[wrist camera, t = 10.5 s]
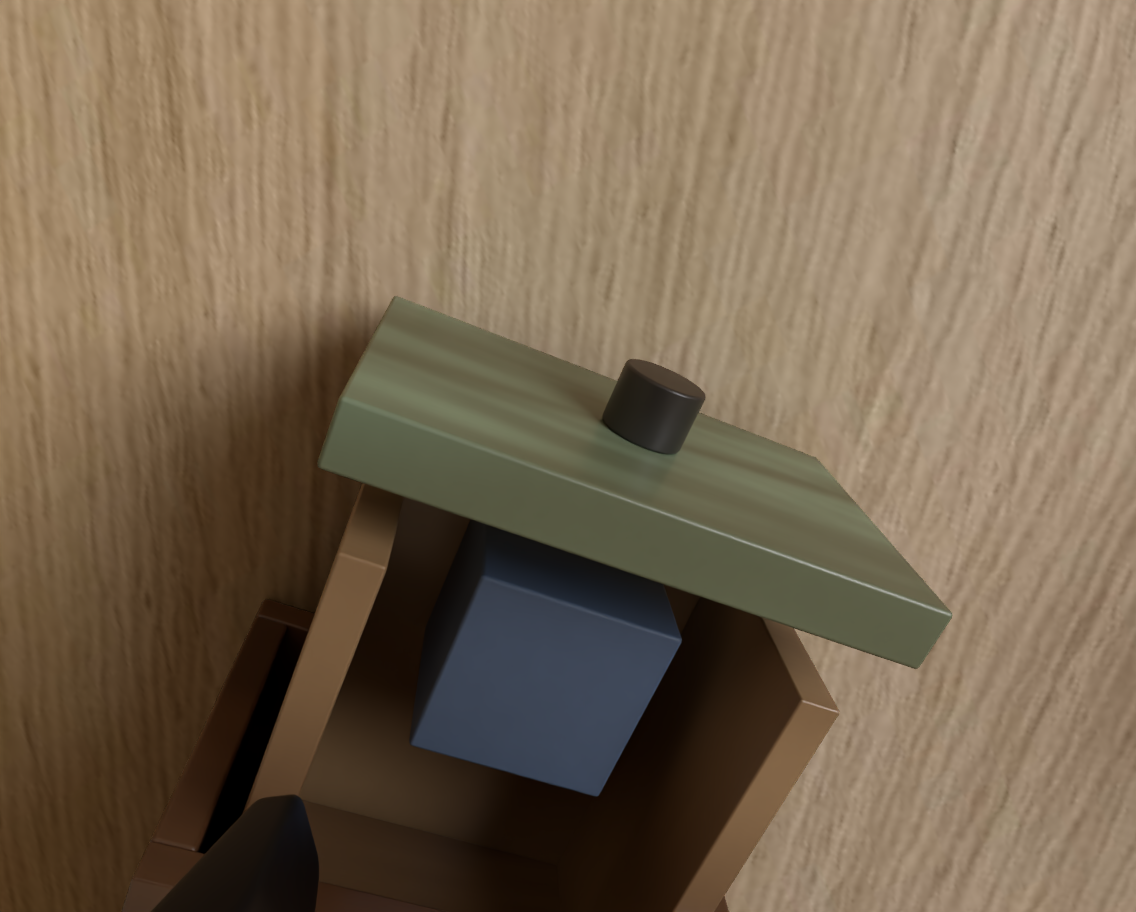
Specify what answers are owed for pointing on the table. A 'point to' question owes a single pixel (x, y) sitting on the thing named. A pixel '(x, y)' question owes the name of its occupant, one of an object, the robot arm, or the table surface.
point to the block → (539, 660)
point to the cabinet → (239, 769)
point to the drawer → (606, 535)
